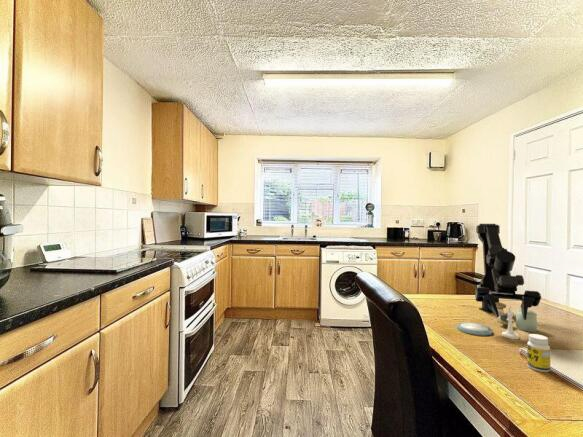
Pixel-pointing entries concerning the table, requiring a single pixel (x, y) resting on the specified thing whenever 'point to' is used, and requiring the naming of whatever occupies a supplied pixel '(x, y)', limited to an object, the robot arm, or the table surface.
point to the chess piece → (510, 327)
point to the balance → (501, 313)
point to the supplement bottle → (538, 353)
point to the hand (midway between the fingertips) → (511, 317)
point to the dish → (474, 329)
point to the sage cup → (526, 321)
